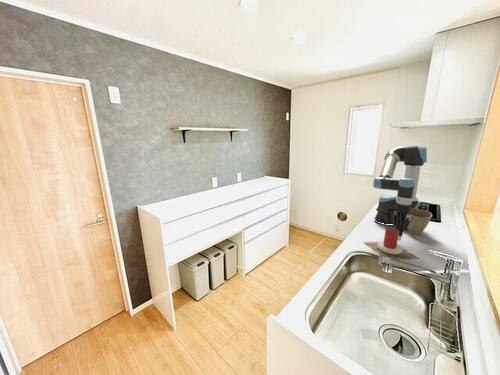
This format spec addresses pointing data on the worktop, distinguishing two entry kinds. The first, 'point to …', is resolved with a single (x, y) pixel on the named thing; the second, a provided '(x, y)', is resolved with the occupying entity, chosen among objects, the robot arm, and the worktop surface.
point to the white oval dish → (396, 251)
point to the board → (395, 257)
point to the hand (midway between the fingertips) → (398, 239)
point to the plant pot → (418, 220)
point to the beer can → (391, 237)
